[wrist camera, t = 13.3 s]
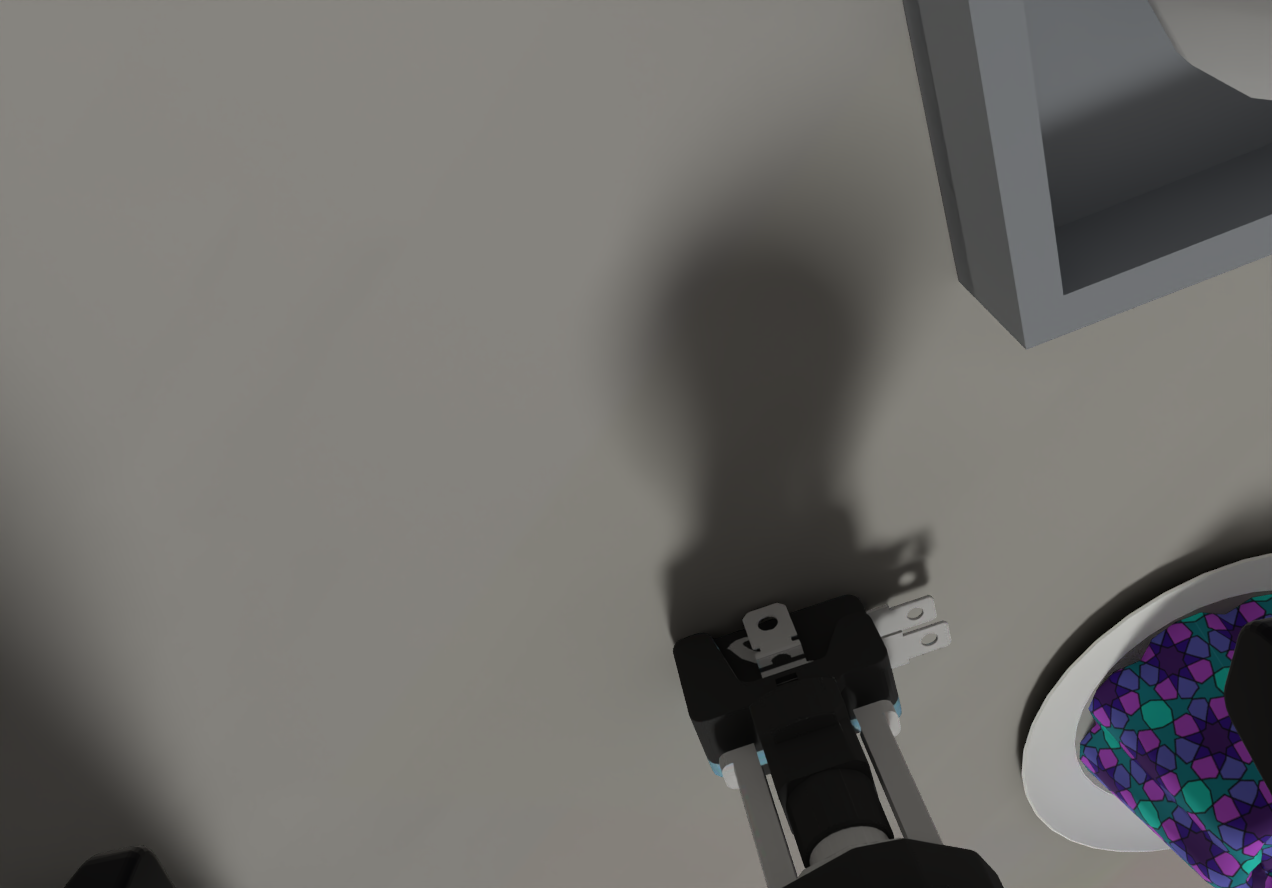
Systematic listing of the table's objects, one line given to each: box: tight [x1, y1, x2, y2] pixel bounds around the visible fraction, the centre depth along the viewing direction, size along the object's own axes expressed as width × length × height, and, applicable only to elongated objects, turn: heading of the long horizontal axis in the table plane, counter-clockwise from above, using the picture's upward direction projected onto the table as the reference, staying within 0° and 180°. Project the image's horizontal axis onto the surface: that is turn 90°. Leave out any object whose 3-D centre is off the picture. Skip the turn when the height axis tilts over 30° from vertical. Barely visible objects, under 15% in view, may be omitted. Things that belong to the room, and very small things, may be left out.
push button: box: [673, 595, 1004, 888], centre depth 22 cm, size 7×5×10 cm
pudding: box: [1022, 553, 1272, 888], centre depth 28 cm, size 12×12×5 cm
